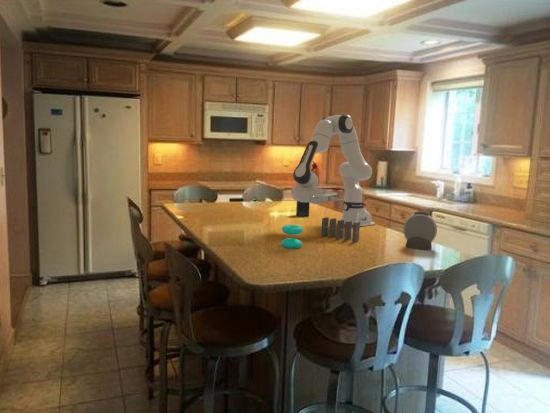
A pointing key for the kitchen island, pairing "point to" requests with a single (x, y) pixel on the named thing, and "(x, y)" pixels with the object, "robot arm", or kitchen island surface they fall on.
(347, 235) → the domino
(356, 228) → the domino
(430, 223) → the alarm clock
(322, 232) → the domino
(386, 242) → the kitchen island surface
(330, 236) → the domino
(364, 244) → the kitchen island surface
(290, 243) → the donuts
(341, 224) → the domino
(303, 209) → the box
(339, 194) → the domino
